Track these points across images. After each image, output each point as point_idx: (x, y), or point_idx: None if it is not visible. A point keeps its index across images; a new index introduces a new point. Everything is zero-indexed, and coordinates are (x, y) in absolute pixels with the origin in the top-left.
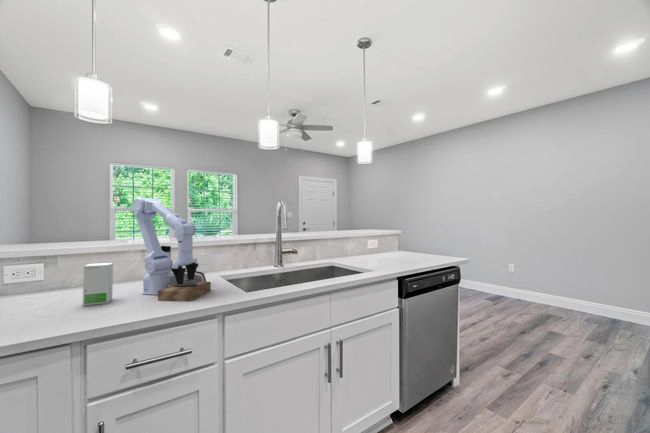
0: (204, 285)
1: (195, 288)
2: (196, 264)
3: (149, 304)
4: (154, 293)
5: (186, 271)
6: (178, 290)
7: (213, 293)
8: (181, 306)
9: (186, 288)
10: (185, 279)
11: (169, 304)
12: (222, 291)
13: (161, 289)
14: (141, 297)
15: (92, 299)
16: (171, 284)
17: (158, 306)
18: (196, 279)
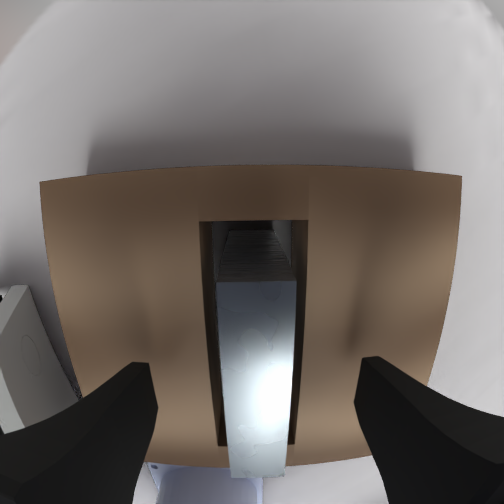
0: (168, 168)
1: (361, 176)
2: (11, 492)
3: (442, 391)
4: (260, 489)
5: None
6: (428, 314)
7: (176, 86)
8: (498, 174)
9: (363, 285)
10: (263, 407)
11: (465, 281)
12: (112, 49)
13: (370, 454)
14: (307, 497)
15: None
16: None
17: (484, 318)
18: (28, 373)
